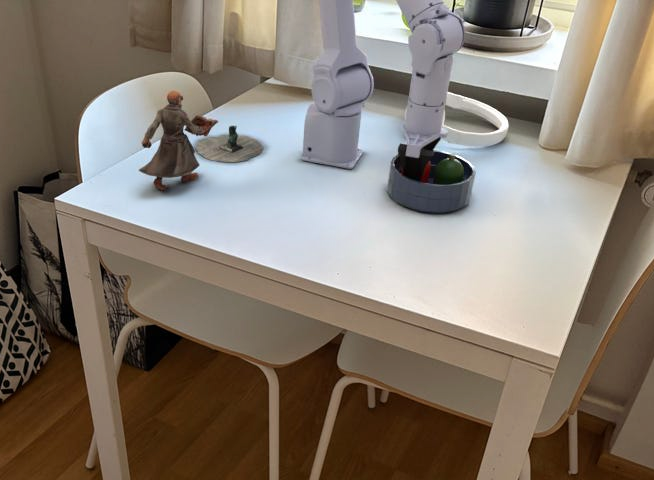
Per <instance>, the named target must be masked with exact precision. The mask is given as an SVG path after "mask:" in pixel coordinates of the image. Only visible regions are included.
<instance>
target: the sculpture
mask: <svg viewBox="0 0 654 480" xmlns="http://www.w3.org/2000/svg"><path fill="white" fill-rule="evenodd" d="M264 148H265V147H264V145H263V144H262V143H261V142H259V140H258V139H256V138H251V137H249V136H246V135H242V134H241V135H240V134H239V133H238V132H237V125H230V126H228V134H222V135H219V136H206V137H204V138H201V139H199V140H198V141H197V142H196V144H195V146H194V150H195V151H196V153H197V154H199V155H201V157H203V158H204V159H206V160H209V161H212V162H224V163H239V162H244V161H249V160H250V159H251V158H253V157H257V156H259V155H260V154H263V150H264Z"/></svg>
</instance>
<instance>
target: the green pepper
mask: <svg viewBox="0 0 654 480" xmlns="http://www.w3.org/2000/svg"><path fill="white" fill-rule="evenodd" d="M456 155H457V154H455V153H451V154H450V156H449V158H446V159H444V160H442V161H440V162H439V163H438V165H437V166H436V169H435V173H434V179H433V184H438V185H448V184H456V183H461V182H462V180H463V175H464V169H463V166H462V164H461V163H460V162H459V161H458V160H456V159H455V156H456Z"/></svg>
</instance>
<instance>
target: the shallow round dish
mask: <svg viewBox="0 0 654 480" xmlns="http://www.w3.org/2000/svg"><path fill="white" fill-rule="evenodd" d="M433 151H435V153H434V155H433V157H432V158H431V160H430V164H431V169H430V175H429V180H428V183H423V182H419V181H415V180H412V179H410V178H408V177H406V176H403V175H402V174H401V170H402V163H401V159H400V157H399V155H398V153H397V154H396V155H394V156H393V157H392V159H391V161H390V162H389V163H390V164H389V171H388V179H387V185H386V188H387V193H388V195H389V196H390V197H391V198H392V199H393V200H394V201H395V202H397V203H398V204H399V205H401V206H402V207H403V206H404V207H406V208H408V209H410V210H413V211H417V212H422V213H430V214H434V213H435V214H443V213H449V212H453V211H457V210H460V209H462V208H464V207H466V205H468V204H469V203H470V200H471V196H472V191H473V187H474V183H475V178H476V173H477V171H476V168H475V166H474V165H473V164H472V163H471V162H470V161H468V160H467V159H465V158H464V157H462V156H460V155H457V154H455V155H456V156H455V159H456V160H458V161H459V162H460V163H461V164H462V166H463V169H464V175H463V180H462V182H461V183H456V184H448V185H438V184H433V179H434V173H435V169H436V166H437V165H438V163H439V162H440V161H442V160H444V159H446V158H449V156H450V154H452V153H451V152H447V151H443V150H436V149H434V150H433Z"/></svg>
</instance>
